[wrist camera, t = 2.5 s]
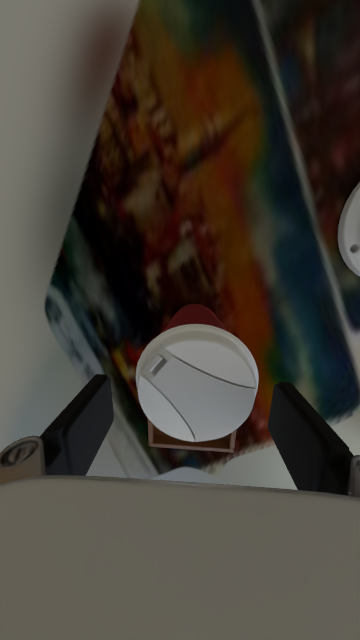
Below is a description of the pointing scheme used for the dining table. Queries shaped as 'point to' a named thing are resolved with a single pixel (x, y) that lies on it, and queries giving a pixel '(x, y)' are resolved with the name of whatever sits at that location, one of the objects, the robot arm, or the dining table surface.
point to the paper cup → (196, 377)
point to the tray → (165, 440)
